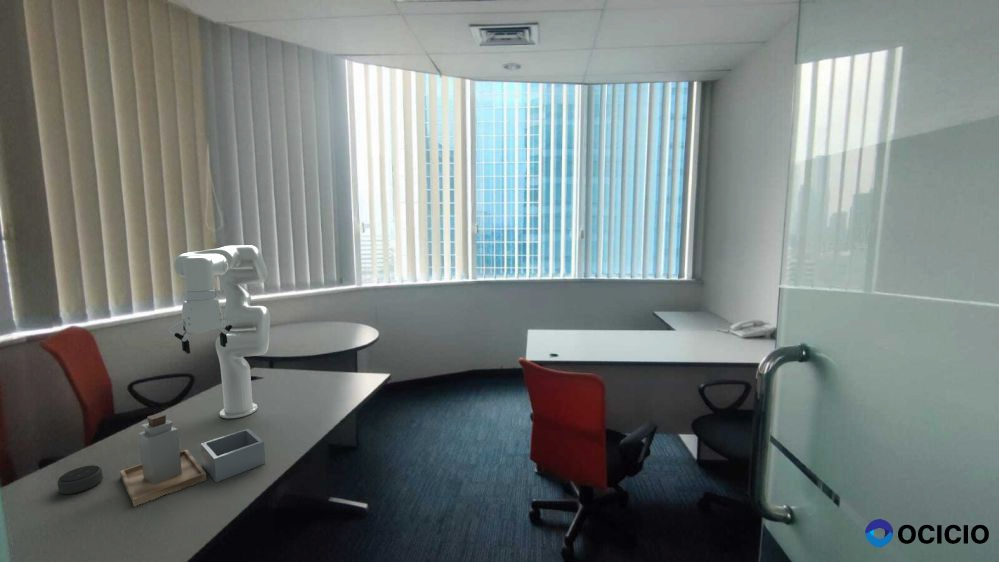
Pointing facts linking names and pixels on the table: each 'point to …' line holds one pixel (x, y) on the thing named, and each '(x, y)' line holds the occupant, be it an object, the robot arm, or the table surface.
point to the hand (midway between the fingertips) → (205, 349)
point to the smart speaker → (80, 479)
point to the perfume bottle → (159, 449)
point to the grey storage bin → (232, 454)
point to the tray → (147, 491)
